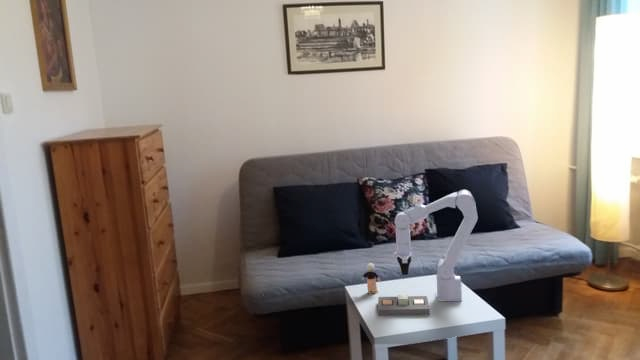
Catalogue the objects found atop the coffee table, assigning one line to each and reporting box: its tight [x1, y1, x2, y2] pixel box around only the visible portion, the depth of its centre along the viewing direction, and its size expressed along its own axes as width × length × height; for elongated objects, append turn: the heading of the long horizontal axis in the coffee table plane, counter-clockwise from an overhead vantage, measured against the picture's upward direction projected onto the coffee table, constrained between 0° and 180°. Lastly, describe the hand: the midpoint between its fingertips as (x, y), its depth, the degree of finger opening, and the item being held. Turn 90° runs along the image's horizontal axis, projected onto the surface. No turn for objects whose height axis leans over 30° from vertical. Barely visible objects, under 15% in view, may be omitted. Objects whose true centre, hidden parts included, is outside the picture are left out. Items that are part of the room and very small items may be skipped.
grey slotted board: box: [377, 295, 431, 317], centre depth 195 cm, size 19×12×2 cm, turn 83°
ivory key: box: [414, 299, 424, 305], centre depth 194 cm, size 4×4×3 cm
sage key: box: [397, 294, 409, 305], centre depth 195 cm, size 4×4×3 cm
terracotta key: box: [383, 300, 392, 305], centre depth 196 cm, size 4×4×3 cm
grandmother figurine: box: [361, 262, 381, 295], centre depth 213 cm, size 8×4×13 cm, turn 84°
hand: (404, 274), depth 205 cm, fingers closed
